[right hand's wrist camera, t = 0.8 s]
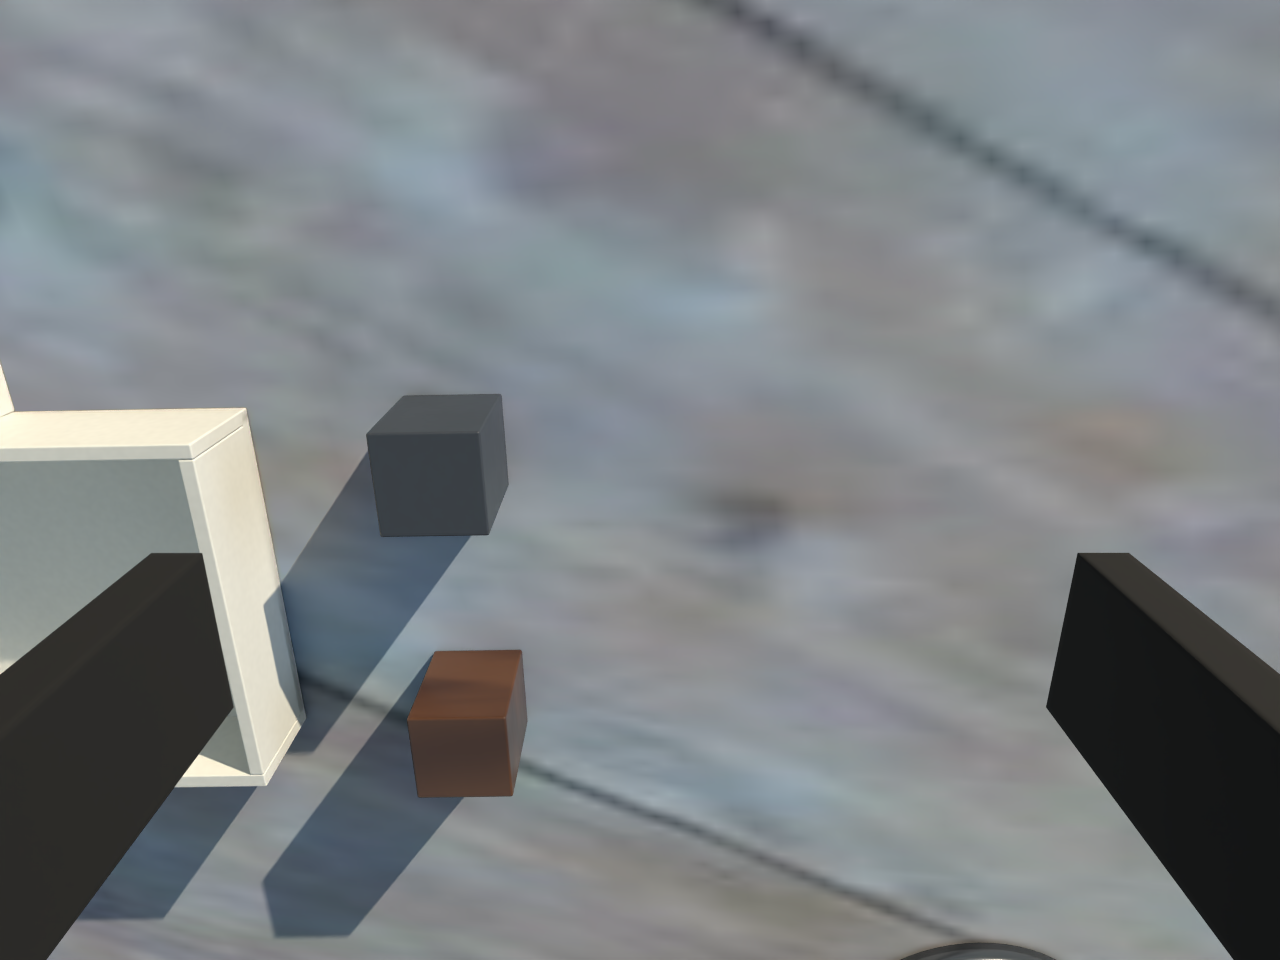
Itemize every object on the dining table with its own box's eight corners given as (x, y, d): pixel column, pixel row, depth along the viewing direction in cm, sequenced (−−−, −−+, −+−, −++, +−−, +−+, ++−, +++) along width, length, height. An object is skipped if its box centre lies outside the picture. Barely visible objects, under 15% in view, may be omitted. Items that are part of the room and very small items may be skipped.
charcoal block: (509, 485, 35) (489, 536, 31) (414, 487, 35) (379, 537, 31) (501, 393, 34) (479, 431, 29) (402, 395, 34) (365, 433, 29)
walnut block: (528, 721, 40) (513, 797, 35) (443, 723, 40) (417, 798, 35) (522, 648, 38) (505, 717, 34) (434, 650, 38) (406, 718, 34)
